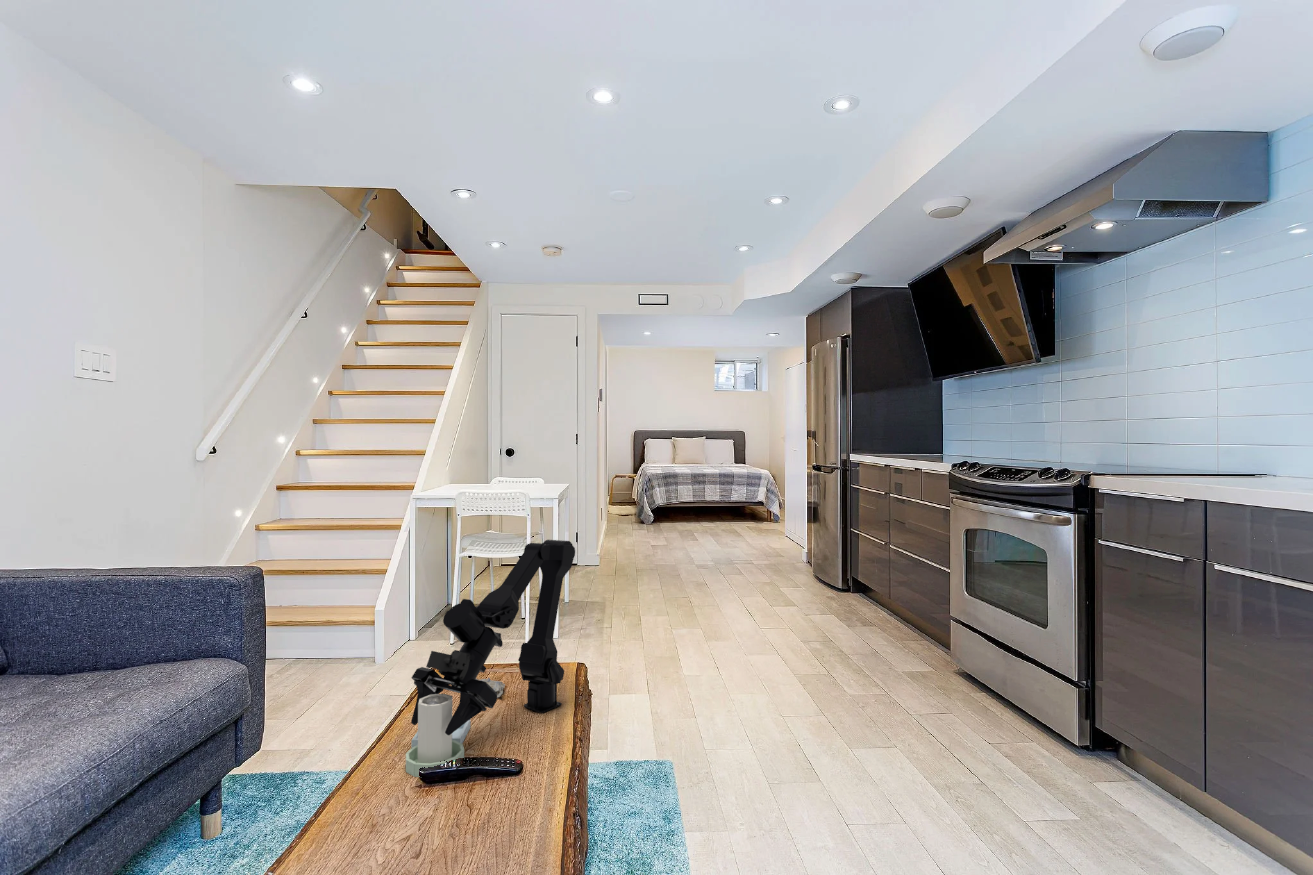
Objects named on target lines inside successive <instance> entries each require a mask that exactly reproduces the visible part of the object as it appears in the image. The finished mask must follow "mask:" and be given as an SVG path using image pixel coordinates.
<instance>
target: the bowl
mask: <svg viewBox="0 0 1313 875" xmlns="http://www.w3.org/2000/svg"><path fill="white" fill-rule="evenodd" d="M458 758H464V759H465V748H464V744H463V743H462V744H461V743H459V742H457V741H455V740H452V758H450V759H447V760H445V761H441V762H435V763H418V745H417V746H414V747H412V748H411V747H410V749H409V750H408V751H407V752H405V773H407V774H409V775H410V776H413V777H415V778H421V777H420V776H419V769H420V768H422V767H423V768H424V767H425V768H428V767H434V766H437V765H440V764H445V763H446V761H447V762H449V761H451V760H455V759H458Z"/></svg>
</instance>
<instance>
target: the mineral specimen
mask: <svg viewBox="0 0 1313 875" xmlns="http://www.w3.org/2000/svg"><path fill="white" fill-rule="evenodd" d="M476 680H480V681H484V682H486V683H487V684H488V685H489V686H490V687H491V688H492V689H493V690H494V691H495V692H497V699H498V698H500V697H501V696H503V693H504V691H503V690H504V688H505V687H506V684H505V683H503V681H501V680H491V678H490V677H488V678H481V679H479V678H477V677H476Z"/></svg>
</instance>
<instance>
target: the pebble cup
mask: <svg viewBox="0 0 1313 875" xmlns="http://www.w3.org/2000/svg"><path fill="white" fill-rule="evenodd" d="M452 717H453V695H451V694H446V693H439V694H433V695H428V696H426V697H423V698H421V699H419V703H418V723H417V731H418V763H435V762H440V761H444V760H447V759H450V758H452V734H450V735H447V734H446V733H445V731H446V729H447V726H448V724H449V722H450V720H451V719H452Z"/></svg>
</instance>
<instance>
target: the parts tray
mask: <svg viewBox="0 0 1313 875" xmlns="http://www.w3.org/2000/svg"><path fill="white" fill-rule="evenodd" d="M471 719H472V718H471ZM471 719H470V720H468V721H467V722H466V723H464V724H463V725H462V726H461V727H459V728H458V729H457V730H456V731H454V732H453V733H452V740H455V741H457V742H459V743H461V744H463V743H464V741H465V739H466V737H467V735H468V733H469V731H470V729H471V725H472V724H471V721H472V720H471ZM410 744H411V747H410V749H411V748H412V747H414V746H417V745H418V730H417V732H416V733H415V734H414V736H413V737H412V739H411V743H410Z"/></svg>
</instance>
